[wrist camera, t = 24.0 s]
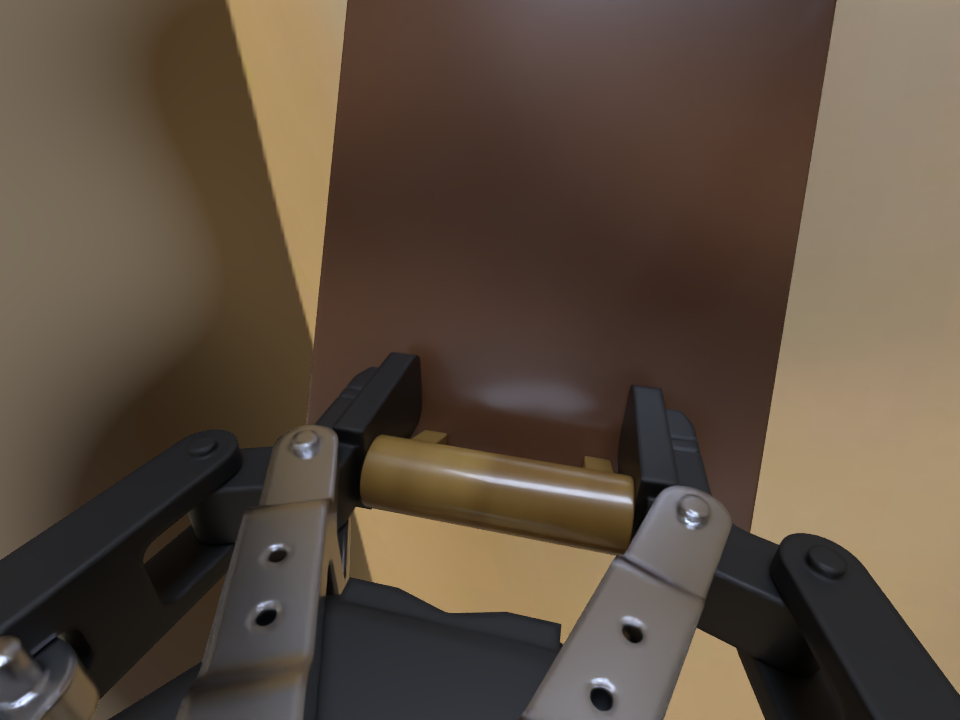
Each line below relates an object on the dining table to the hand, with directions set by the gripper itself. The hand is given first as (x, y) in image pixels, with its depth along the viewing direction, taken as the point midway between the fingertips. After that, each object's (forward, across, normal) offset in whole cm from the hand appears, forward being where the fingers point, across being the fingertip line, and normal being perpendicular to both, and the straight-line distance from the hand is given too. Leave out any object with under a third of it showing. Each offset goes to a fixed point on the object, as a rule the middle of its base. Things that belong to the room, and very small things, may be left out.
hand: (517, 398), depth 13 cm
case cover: (+3, 0, -3) cm, 4 cm away
